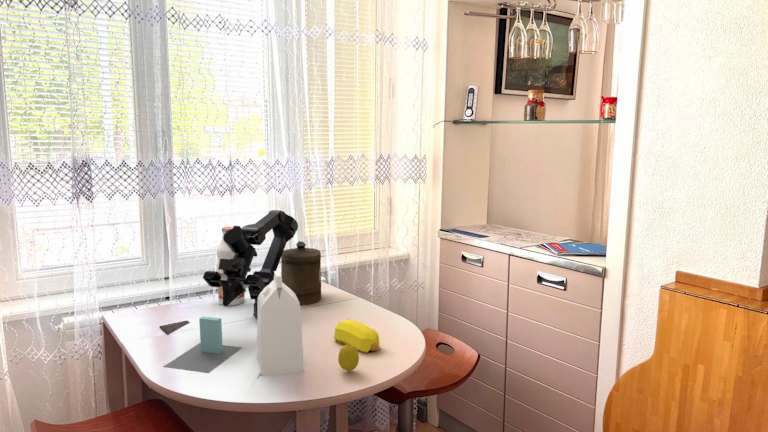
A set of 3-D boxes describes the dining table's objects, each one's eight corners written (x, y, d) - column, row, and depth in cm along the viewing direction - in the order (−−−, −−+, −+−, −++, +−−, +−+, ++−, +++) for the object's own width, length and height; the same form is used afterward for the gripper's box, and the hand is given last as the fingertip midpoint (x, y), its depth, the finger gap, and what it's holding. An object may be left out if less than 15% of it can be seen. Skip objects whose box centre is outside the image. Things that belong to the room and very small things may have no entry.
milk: (304, 370, 157) (302, 277, 153) (260, 376, 154) (257, 281, 150) (297, 353, 169) (296, 266, 164) (257, 358, 165) (254, 269, 161)
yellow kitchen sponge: (347, 333, 185) (328, 340, 180) (347, 313, 184) (327, 319, 178) (386, 350, 172) (366, 357, 167) (386, 329, 171) (366, 335, 165)
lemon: (338, 367, 159) (338, 340, 158) (358, 367, 160) (358, 339, 158) (338, 376, 154) (338, 348, 152) (359, 376, 154) (359, 347, 153)
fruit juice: (213, 301, 215) (210, 227, 210) (236, 296, 221) (233, 224, 216) (226, 307, 208) (223, 231, 203) (249, 302, 215) (247, 227, 210)
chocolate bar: (187, 320, 194) (207, 336, 180) (187, 323, 194) (207, 339, 180) (159, 326, 188) (178, 343, 174) (159, 329, 188) (178, 346, 174)
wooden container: (329, 298, 220) (328, 241, 216) (299, 308, 209) (298, 248, 205) (303, 290, 229) (302, 236, 226) (273, 299, 218) (271, 242, 215)
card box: (204, 348, 170) (203, 316, 168) (222, 351, 168) (221, 318, 167) (200, 351, 168) (199, 318, 166) (219, 353, 167) (217, 320, 165)
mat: (200, 344, 175) (200, 342, 175) (242, 349, 171) (242, 347, 171) (163, 368, 158) (163, 366, 158) (208, 375, 154) (208, 373, 154)
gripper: (204, 245, 178) (185, 290, 170) (259, 249, 173) (242, 295, 165) (219, 264, 187) (201, 307, 179) (272, 268, 182) (256, 313, 174)
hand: (224, 305), depth 174 cm, fingers closed
